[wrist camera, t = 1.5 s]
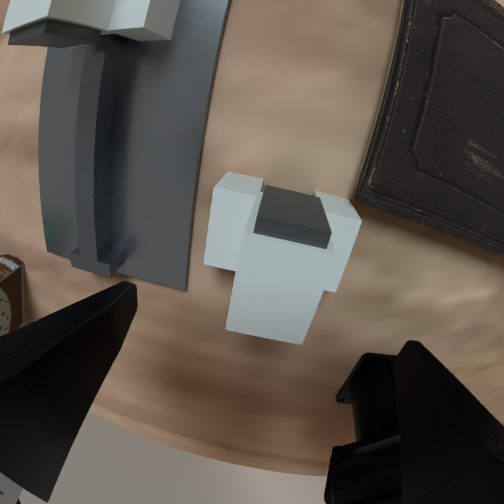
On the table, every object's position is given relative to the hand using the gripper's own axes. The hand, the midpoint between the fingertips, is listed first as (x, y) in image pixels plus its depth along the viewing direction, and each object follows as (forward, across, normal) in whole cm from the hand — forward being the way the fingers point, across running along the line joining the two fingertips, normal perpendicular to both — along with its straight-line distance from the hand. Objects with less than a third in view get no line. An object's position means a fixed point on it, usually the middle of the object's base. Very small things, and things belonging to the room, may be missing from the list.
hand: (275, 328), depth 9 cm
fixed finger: (+8, +11, -11) cm, 18 cm away
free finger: (+9, 0, 0) cm, 9 cm away
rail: (+9, +11, -5) cm, 15 cm away
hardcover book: (+10, -15, -10) cm, 20 cm away
